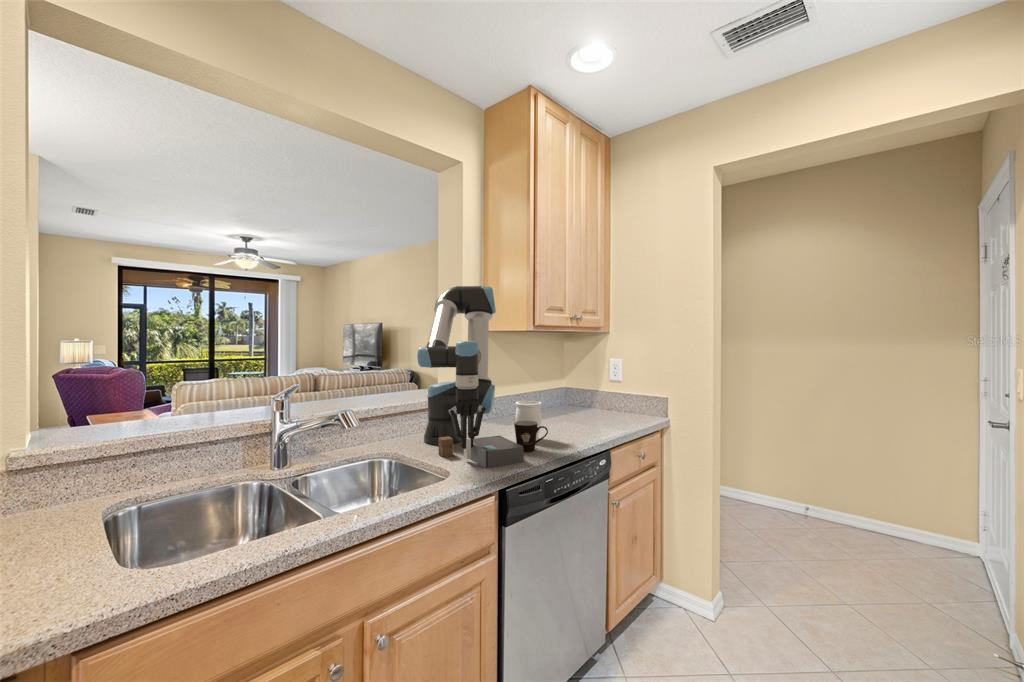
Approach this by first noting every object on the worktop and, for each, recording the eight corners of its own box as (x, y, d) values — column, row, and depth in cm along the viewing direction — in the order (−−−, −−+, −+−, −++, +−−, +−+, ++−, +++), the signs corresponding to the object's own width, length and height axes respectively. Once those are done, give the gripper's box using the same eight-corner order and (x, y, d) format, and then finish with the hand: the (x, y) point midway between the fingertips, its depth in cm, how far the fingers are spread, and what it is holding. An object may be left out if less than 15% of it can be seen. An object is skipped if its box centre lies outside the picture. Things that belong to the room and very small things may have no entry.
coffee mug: (510, 451, 163) (510, 424, 163) (520, 446, 170) (520, 419, 170) (539, 455, 157) (539, 427, 157) (549, 449, 165) (548, 422, 165)
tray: (462, 454, 158) (462, 439, 158) (495, 450, 164) (495, 434, 164) (482, 467, 143) (482, 450, 143) (517, 462, 149) (517, 445, 149)
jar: (510, 439, 181) (510, 402, 181) (528, 435, 188) (528, 399, 188) (528, 443, 173) (528, 405, 173) (547, 439, 180) (546, 402, 180)
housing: (466, 454, 160) (466, 438, 159) (499, 449, 166) (499, 434, 165) (487, 467, 143) (487, 451, 143) (523, 462, 149) (523, 446, 149)
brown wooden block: (438, 454, 159) (438, 437, 159) (449, 452, 161) (449, 436, 161) (442, 457, 156) (442, 440, 156) (453, 455, 158) (453, 438, 158)
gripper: (452, 389, 143) (452, 463, 144) (489, 387, 149) (489, 458, 150) (444, 387, 150) (445, 457, 150) (480, 385, 156) (480, 452, 156)
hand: (467, 457), depth 150 cm, fingers closed
